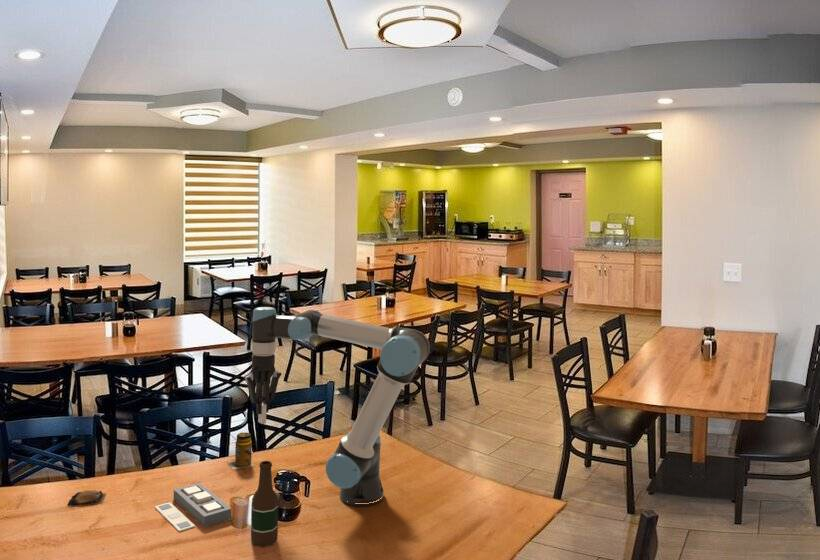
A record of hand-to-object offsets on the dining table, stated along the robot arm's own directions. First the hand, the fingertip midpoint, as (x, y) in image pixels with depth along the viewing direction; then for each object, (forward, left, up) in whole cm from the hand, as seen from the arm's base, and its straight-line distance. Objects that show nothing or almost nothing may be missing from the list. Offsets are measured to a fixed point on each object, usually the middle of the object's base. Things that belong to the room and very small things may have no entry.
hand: (262, 422), depth 211 cm
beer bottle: (-26, +13, -27) cm, 39 cm away
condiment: (+30, -8, -27) cm, 41 cm away
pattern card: (+4, +28, -26) cm, 39 cm away
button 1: (+12, +19, -25) cm, 33 cm away
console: (+4, +19, -26) cm, 33 cm away
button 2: (-4, +19, -25) cm, 32 cm away
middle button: (+4, +19, -24) cm, 31 cm away
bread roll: (+32, +46, -27) cm, 62 cm away
